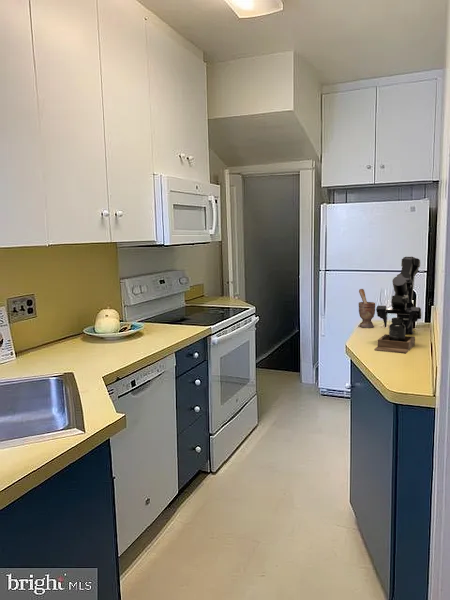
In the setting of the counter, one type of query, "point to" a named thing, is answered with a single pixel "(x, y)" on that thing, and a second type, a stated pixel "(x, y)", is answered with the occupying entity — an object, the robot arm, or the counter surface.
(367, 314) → the mortar and pestle
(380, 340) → the walnut tray
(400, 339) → the supplement bottle
